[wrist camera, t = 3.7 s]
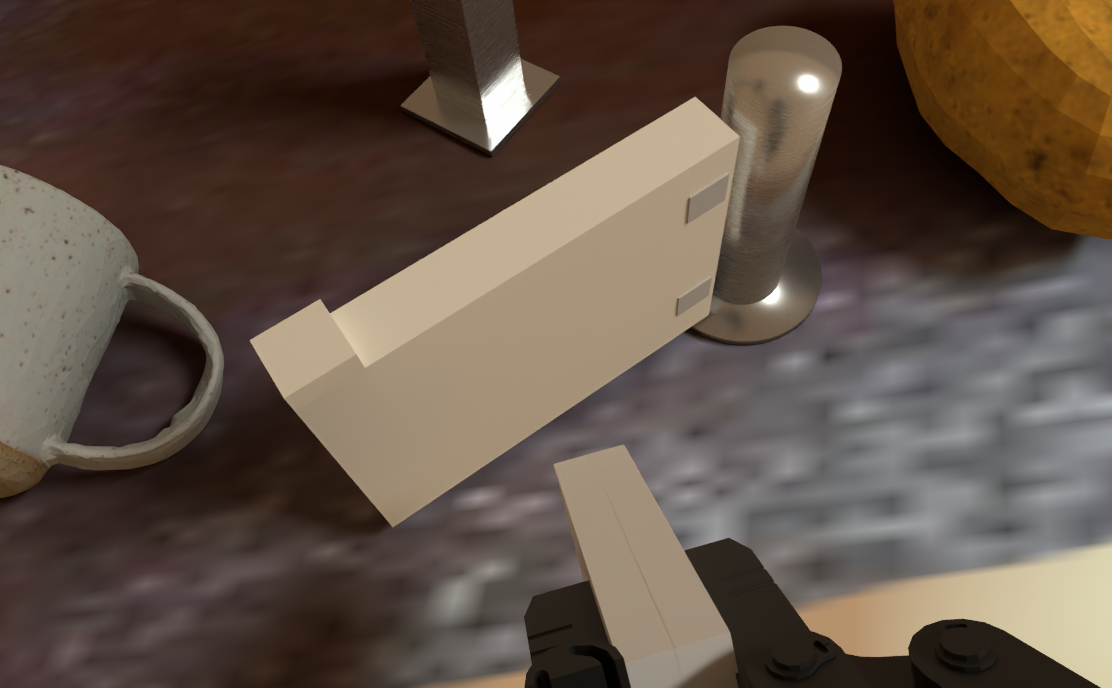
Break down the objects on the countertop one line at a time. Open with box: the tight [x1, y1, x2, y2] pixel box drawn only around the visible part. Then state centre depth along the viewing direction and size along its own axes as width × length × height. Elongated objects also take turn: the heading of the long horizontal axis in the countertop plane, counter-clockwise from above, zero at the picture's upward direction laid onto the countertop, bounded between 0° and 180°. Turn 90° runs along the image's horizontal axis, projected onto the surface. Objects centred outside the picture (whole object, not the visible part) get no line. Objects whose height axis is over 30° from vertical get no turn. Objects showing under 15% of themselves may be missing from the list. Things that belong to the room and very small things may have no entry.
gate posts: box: [400, 0, 842, 345], centre depth 24 cm, size 18×5×12 cm, turn 46°
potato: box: [893, 0, 1112, 239], centre depth 27 cm, size 8×14×7 cm, turn 9°
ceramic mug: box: [0, 165, 224, 498], centre depth 24 cm, size 11×8×8 cm
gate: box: [250, 97, 740, 527], centre depth 21 cm, size 12×2×9 cm, turn 125°
